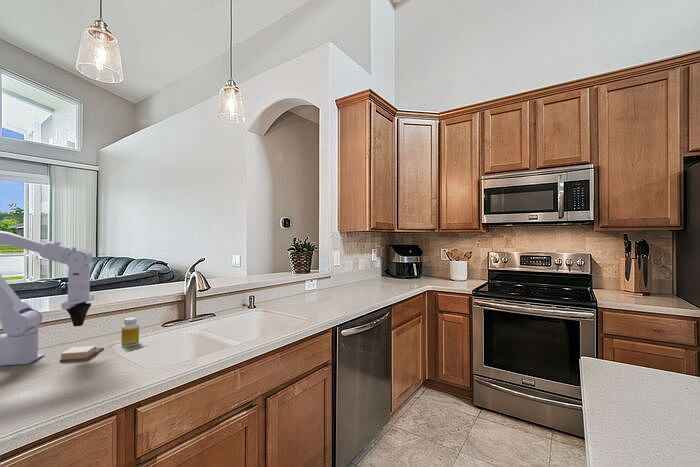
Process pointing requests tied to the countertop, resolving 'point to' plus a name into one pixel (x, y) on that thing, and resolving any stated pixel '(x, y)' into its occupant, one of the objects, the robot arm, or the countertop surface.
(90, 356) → the mat
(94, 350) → the light wood block
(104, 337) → the countertop surface
